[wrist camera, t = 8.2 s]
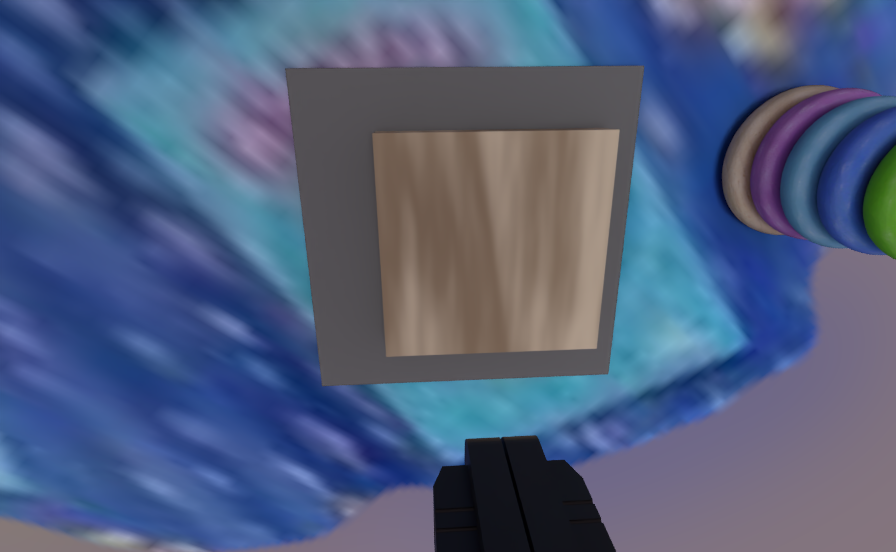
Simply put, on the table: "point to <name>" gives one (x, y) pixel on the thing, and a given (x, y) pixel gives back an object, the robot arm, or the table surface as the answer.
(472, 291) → the tile
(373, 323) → the mat
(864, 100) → the stacking toy
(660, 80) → the table surface
